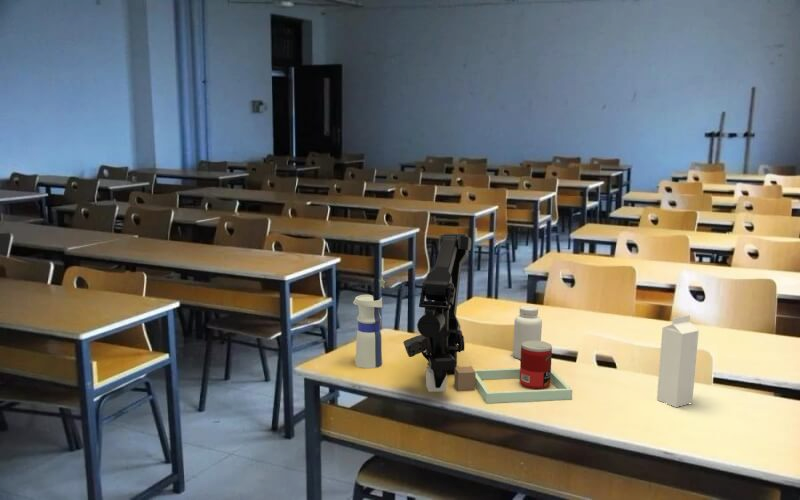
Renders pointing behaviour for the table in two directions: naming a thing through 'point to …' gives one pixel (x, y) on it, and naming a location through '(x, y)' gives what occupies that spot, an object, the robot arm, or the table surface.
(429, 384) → the white block
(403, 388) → the table surface
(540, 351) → the canned food
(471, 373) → the brown carton
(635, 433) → the table surface
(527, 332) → the pill bottle
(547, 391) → the mint green rectangular frame
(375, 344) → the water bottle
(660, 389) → the milk
